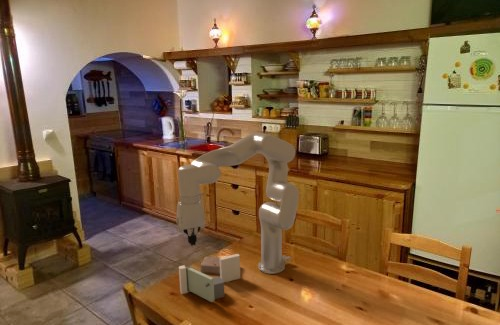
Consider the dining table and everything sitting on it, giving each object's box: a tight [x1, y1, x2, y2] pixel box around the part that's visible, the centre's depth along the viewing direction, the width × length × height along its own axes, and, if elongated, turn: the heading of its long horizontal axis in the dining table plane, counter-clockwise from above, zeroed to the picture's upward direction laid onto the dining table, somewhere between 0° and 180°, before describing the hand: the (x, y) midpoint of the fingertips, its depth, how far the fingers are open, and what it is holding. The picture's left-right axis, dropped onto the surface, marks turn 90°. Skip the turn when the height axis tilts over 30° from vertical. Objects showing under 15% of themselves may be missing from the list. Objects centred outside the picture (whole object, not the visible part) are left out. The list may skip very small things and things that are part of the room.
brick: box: [200, 256, 221, 275], centre depth 168 cm, size 17×8×5 cm, turn 80°
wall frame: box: [178, 253, 241, 295], centre depth 154 cm, size 27×2×12 cm, turn 116°
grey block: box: [213, 275, 225, 300], centre depth 148 cm, size 5×5×6 cm
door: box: [185, 266, 216, 303], centre depth 146 cm, size 15×3×10 cm, turn 51°
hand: (192, 243), depth 138 cm, fingers closed
